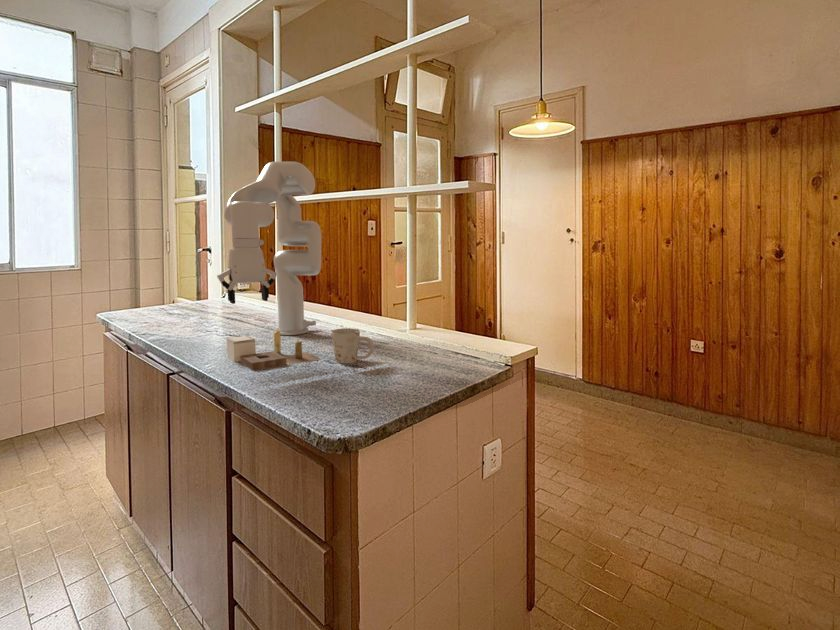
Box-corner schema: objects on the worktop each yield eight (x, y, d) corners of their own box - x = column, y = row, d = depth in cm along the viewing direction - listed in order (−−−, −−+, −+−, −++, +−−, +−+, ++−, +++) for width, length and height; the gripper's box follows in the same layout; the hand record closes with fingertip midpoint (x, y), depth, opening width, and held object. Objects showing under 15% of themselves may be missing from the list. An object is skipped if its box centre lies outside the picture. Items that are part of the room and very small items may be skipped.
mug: (333, 360, 158) (332, 328, 157) (374, 359, 159) (374, 328, 158) (330, 367, 150) (330, 334, 148) (374, 367, 151) (374, 333, 149)
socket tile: (273, 360, 157) (273, 351, 157) (286, 367, 149) (286, 357, 149) (240, 365, 151) (240, 355, 151) (252, 373, 143) (252, 363, 143)
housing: (248, 357, 161) (247, 335, 160) (256, 361, 156) (254, 339, 155) (227, 360, 157) (226, 338, 156) (234, 365, 152) (233, 341, 151)
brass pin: (279, 355, 164) (278, 330, 162) (282, 356, 162) (281, 331, 161) (273, 356, 162) (272, 331, 161) (276, 357, 161) (275, 332, 159)
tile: (307, 355, 164) (306, 337, 163) (321, 362, 156) (320, 342, 155) (276, 360, 158) (275, 341, 157) (290, 367, 150) (289, 347, 149)
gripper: (270, 243, 160) (272, 298, 163) (212, 244, 150) (215, 302, 153) (279, 244, 154) (281, 301, 157) (219, 245, 144) (222, 306, 147)
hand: (249, 301), depth 155 cm, fingers open, 9 cm apart
